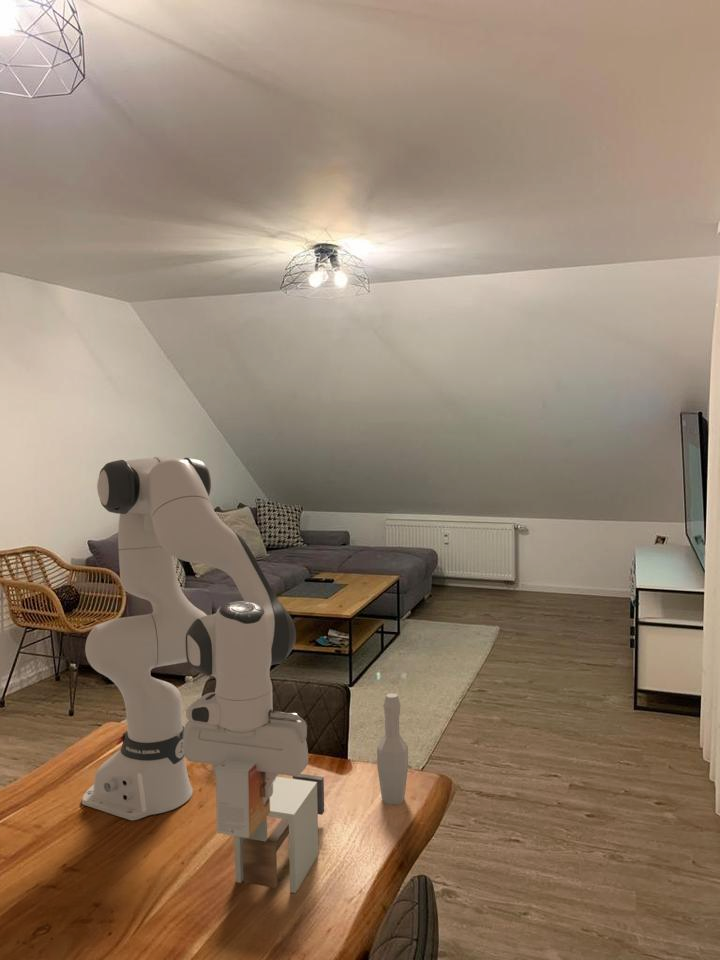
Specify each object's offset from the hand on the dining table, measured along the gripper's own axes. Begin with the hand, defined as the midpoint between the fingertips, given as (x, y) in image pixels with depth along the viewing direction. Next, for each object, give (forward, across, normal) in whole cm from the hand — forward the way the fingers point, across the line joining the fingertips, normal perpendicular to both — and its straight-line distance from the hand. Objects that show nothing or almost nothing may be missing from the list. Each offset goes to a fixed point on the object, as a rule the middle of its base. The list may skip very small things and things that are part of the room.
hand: (246, 792), depth 110 cm
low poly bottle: (+20, -14, -39) cm, 46 cm away
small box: (+5, 0, +1) cm, 5 cm away
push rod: (+18, 0, -15) cm, 23 cm away
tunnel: (+20, 0, -11) cm, 23 cm away
